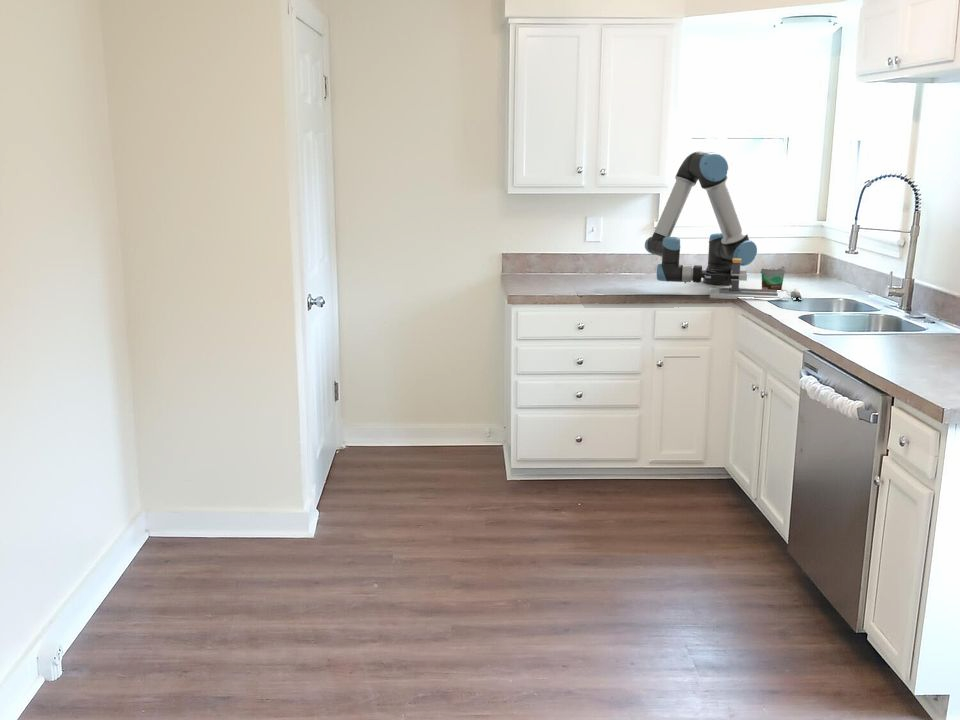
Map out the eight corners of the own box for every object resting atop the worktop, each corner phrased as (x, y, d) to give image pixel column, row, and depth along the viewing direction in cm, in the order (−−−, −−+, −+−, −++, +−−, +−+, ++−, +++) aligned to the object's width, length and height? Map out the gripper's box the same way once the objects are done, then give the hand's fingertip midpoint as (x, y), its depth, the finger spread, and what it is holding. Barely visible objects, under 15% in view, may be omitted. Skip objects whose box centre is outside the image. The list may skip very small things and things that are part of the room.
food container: (768, 293, 389) (770, 270, 386) (759, 290, 394) (760, 268, 391) (790, 290, 393) (792, 268, 390) (781, 288, 398) (783, 266, 396)
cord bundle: (790, 294, 385) (791, 288, 384) (799, 295, 384) (799, 288, 383) (792, 301, 372) (793, 294, 371) (801, 301, 371) (802, 294, 371)
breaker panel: (710, 291, 393) (710, 285, 392) (785, 294, 385) (785, 288, 384) (709, 297, 380) (710, 292, 379) (787, 301, 372) (788, 295, 371)
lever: (728, 290, 386) (730, 258, 382) (740, 290, 385) (742, 258, 381) (728, 292, 382) (731, 259, 378) (740, 292, 381) (743, 260, 377)
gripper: (692, 277, 397) (745, 279, 391) (691, 286, 378) (746, 288, 372) (693, 261, 395) (746, 263, 389) (692, 269, 375) (747, 271, 370)
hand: (746, 275), depth 380 cm, fingers open, 8 cm apart
